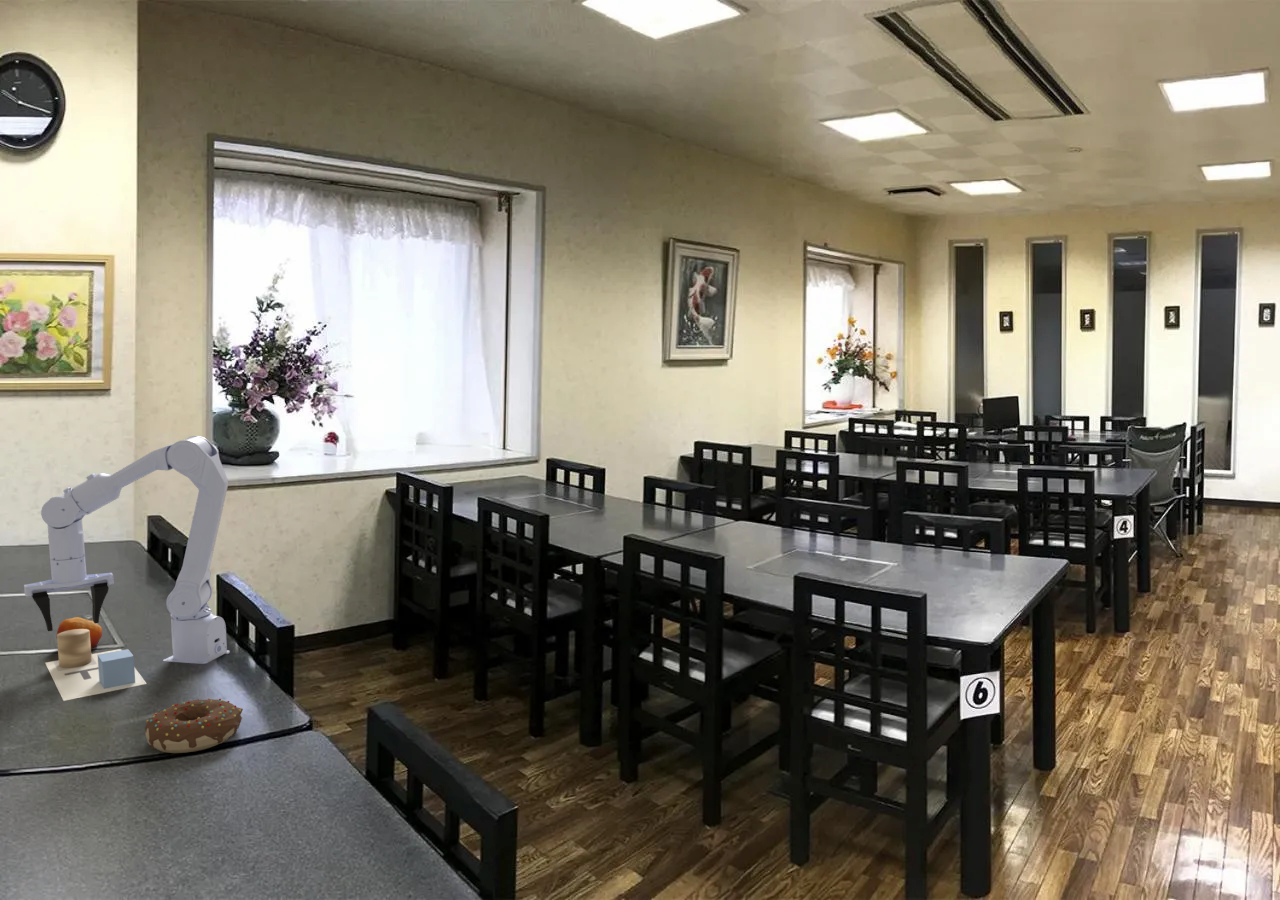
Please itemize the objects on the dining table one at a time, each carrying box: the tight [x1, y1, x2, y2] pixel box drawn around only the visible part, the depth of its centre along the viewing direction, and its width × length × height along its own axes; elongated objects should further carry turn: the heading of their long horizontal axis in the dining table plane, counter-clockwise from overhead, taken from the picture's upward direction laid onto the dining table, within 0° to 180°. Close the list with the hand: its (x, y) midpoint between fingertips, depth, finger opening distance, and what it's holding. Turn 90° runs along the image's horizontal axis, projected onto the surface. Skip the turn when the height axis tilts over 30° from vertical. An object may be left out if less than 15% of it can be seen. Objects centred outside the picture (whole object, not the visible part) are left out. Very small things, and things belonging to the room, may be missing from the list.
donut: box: [144, 698, 244, 754], centre depth 145 cm, size 14×14×5 cm
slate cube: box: [98, 648, 136, 689], centre depth 168 cm, size 5×5×5 cm
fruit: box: [56, 616, 103, 649], centre depth 187 cm, size 8×8×8 cm
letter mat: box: [44, 648, 147, 702], centre depth 173 cm, size 13×25×1 cm, turn 39°
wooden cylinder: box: [56, 629, 92, 668], centre depth 178 cm, size 5×5×6 cm
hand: (73, 625), depth 177 cm, fingers open, 7 cm apart
